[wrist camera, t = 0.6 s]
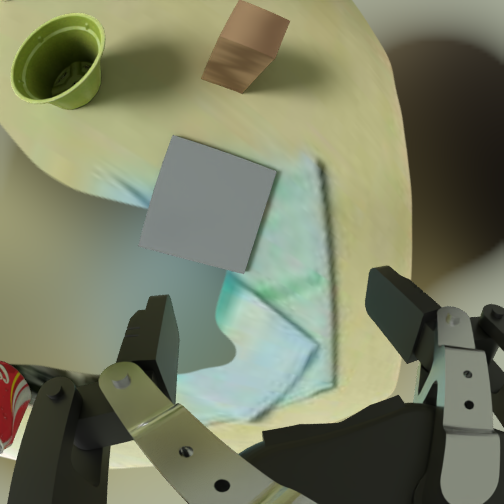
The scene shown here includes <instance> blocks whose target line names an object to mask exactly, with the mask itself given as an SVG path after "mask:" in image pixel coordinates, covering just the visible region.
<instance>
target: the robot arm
mask: <svg viewBox="0 0 504 504" xmlns="http://www.w3.org/2000/svg"><path fill="white" fill-rule="evenodd" d="M3 1H10V0H3ZM365 307H366V311H367V313H368V315H369V316H370V317H371V319H372V320H373V321H374V322H375V324H376V325H377V326H378V327H379V329H380V330H381V331H382V332H383V334H384V335H385V336H386V337H387V339H388V340H389V341H390V342H391V344H392V345H393V346H394V348H395V349H396V350H397V351H398V353H399V354H400V355H401V357H402V358H403V359H404V361H405V362H406V363H407V364H408V363H411V362H414V361H416V360H419V361H420V363H419V366H418V369H417V378H416V387H415V395H414V401H413V403H404V402H403V401H402V399H401V397H400V396H399V395H397V396H394V397H392V398H389V399H386V400H383V401H381V402H378V403H375V404H372V405H369V406H368V407H366V408H364V409H363V410H361V411H359V412H358V413H356V414H354V415H353V416H351V417H349V418H347V419H346V420H344V421H342V422H339V423H327V424H299V425H294V426H289V427H284V428H278V429H273V430H267V431H262V436H263V441H262V442H260V443H257V444H255V445H253V446H251V447H249V448H247V449H245V450H244V451H242V452H241V453H239V454H237V453H236V452H235V451H233V450H232V449H231V448H230V447H228V446H227V445H226V444H225V443H224V442H222V441H221V440H220V439H219V438H218V437H217V436H215V435H214V434H213V433H212V432H211V431H210V430H209V429H207V428H206V427H205V426H204V425H203V424H202V423H201V422H200V421H199V420H198V419H197V418H195V417H194V416H193V415H192V414H191V413H190V412H189V411H188V410H187V409H186V408H185V407H184V406H182V405H181V404H179V403H177V404H176V405H175V402H176V384H177V368H178V355H179V331H178V327H177V323H176V318H175V315H174V311H173V306H172V302H171V298H170V296H169V295H158V296H150V297H149V300H148V303H147V306H146V309H145V310H138V311H137V312H136V313H135V314H134V315H133V316H132V317H131V318H130V321H129V324H128V327H127V330H126V333H125V337H124V339H123V342H122V345H121V348H120V351H119V355H118V358H117V361H116V363H115V364H112V365H110V366H109V367H107V368H106V369H105V370H104V371H103V372H102V373H101V375H100V377H99V381H98V382H95V383H92V384H88V385H84V386H80V387H76V386H75V385H74V383H73V382H72V380H70V379H69V378H66V377H55V378H52V379H50V380H48V381H47V382H45V383H44V384H43V385H42V386H41V388H40V390H39V392H38V394H37V397H36V400H35V402H34V405H33V408H32V411H31V414H30V416H29V419H28V422H27V426H26V429H25V432H24V435H23V438H22V442H21V445H20V449H19V452H18V456H17V460H16V464H15V468H14V472H13V477H12V482H11V486H10V492H9V497H8V503H7V504H107V485H108V483H107V482H108V469H109V457H110V447H111V445H115V444H119V443H124V442H128V441H131V440H134V441H135V442H136V443H137V445H138V446H139V447H140V449H141V450H142V451H143V453H144V454H145V455H146V456H147V458H148V459H149V460H150V461H151V463H152V464H153V465H154V466H155V467H156V469H157V470H158V471H159V472H160V473H161V474H162V476H163V477H164V478H165V479H166V480H167V481H168V483H169V484H170V485H171V486H172V487H173V488H174V489H175V490H176V491H177V492H178V494H179V495H180V496H181V497H182V498H183V499H184V500H185V501H186V502H187V503H188V504H504V432H503V431H500V430H497V429H494V428H493V414H492V411H493V412H494V414H495V415H496V417H497V418H498V420H499V421H500V423H501V424H502V426H503V427H504V372H503V371H502V370H501V368H500V367H499V366H498V365H497V364H496V363H495V362H494V361H493V358H494V356H495V354H496V351H497V349H498V348H499V347H500V348H501V349H502V350H503V351H504V308H502V307H500V306H498V305H493V304H489V305H486V306H484V308H483V310H482V313H481V316H480V317H471V318H469V316H468V315H467V313H465V312H464V311H463V310H461V309H459V308H456V307H451V306H450V307H449V306H447V307H440V305H438V304H437V303H436V302H435V301H434V300H433V299H432V298H431V297H429V296H428V295H427V294H426V293H423V291H422V290H421V289H420V288H419V287H417V285H415V284H414V283H413V282H412V281H411V280H409V279H407V278H405V277H403V276H401V275H399V274H398V273H397V272H396V271H394V270H393V269H392V268H391V267H390V266H382V267H376V268H372V269H371V270H370V272H369V277H368V285H367V292H366V299H365Z"/></svg>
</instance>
